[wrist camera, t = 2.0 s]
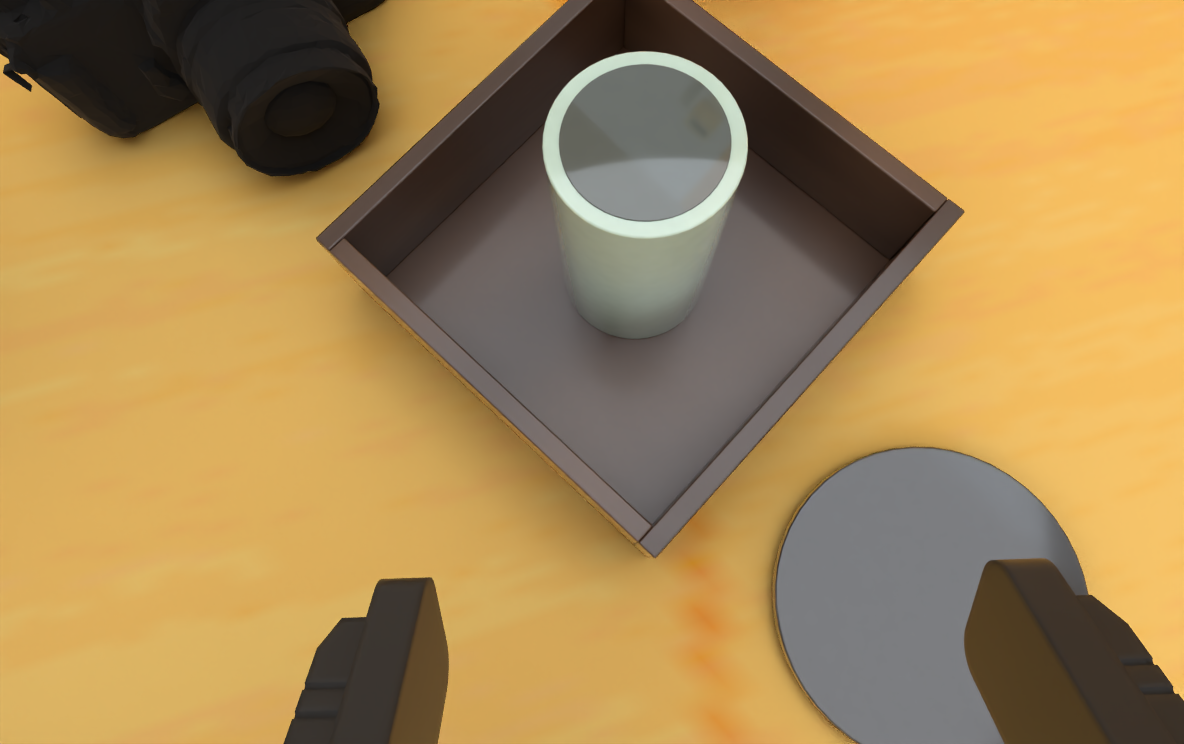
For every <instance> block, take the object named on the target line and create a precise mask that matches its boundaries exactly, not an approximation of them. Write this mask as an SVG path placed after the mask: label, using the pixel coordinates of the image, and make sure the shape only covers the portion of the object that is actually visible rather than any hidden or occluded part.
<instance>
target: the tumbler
mask: <svg viewBox="0 0 1184 744" xmlns="http://www.w3.org/2000/svg"><path fill="white" fill-rule="evenodd" d="M542 150H543V160H544V166H545V172H546V178H547V183H548V189H549V195H550V201H551V207H552V212H553V218H554V224H555V230H556V236H557V241H558V247H559V253H560V259H561V265H562V270H563V276H564V282H565V286H566V290H567V293H568V296H569V298H570V300H571V302H572V304H573V306H574V307H575V309H576V310H577V311H578V313H579V314H580V315H581V316H582V317H583V318H584V319H585V320H586V321H587V322H588V323H590V324H591V325H592V326H594V327H595V328H597V329H599V330H600V331H602V332H605V333H607V334H609V335H613V336H616V337H621V338H627V339H641V338H649V337H653V336H657V335H660V334H662V333H665V332H667V331H669V330H671V329H673V328H674V327H676V326H677V325H678V324H680V323H681V322H682V321H683V320H684V319H685V318H686V317H688V315H689V314H690V313H691V312H692V310H693V309H694V307H695V306H696V304H697V303H698V301H699V298H700V296H701V294H702V291H703V288H704V285H705V282H706V279H707V277H708V274H709V271H710V268H711V265H712V262H713V259H714V257H715V254H716V251H717V248H718V245H719V242H720V239H721V236H722V234H723V231H724V228H725V225H726V222H727V219H728V216H729V214H730V211H731V208H732V205H733V202H734V199H735V196H736V194H737V191H738V188H739V185H740V182H741V179H742V176H743V173H744V170H745V166H746V162H747V154H748V136H747V130H746V125H745V122H744V118H743V115H742V113H741V111H740V109H739V106H738V104H737V102H736V101H735V99H734V98H733V96H732V95H731V93H730V92H729V91H728V89H727V88H726V87H725V86H724V85H723V84H722V82H720V81H719V80H718V79H717V78H716V77H715V76H714V75H713V74H711V73H710V72H708V71H707V70H706V69H704V68H703V67H701V66H699V65H697V64H695V63H693V62H692V61H689V60H687V59H684V58H681V57H679V56H675V55H671V54H667V53H660V52H647V51H639V52H629V53H624V54H619V55H615V56H612V57H609V58H606V59H603V60H601V61H599V62H597V63H595V64H593V65H591V66H589V67H588V68H586V69H585V70H583V71H582V72H580V73H579V74H578V75H577V76H575V77H574V78H573V79H572V80H571V81H570V82H569V83H568V84H567V85H566V86H565V87H564V88H563V89H562V91H561V92H560V94H559V95H558V96H557V98H556V99H555V101H554V103H553V105H552V107H551V109H550V111H549V113H548V116H547V119H546V122H545V126H544V131H543V141H542Z"/></svg>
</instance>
